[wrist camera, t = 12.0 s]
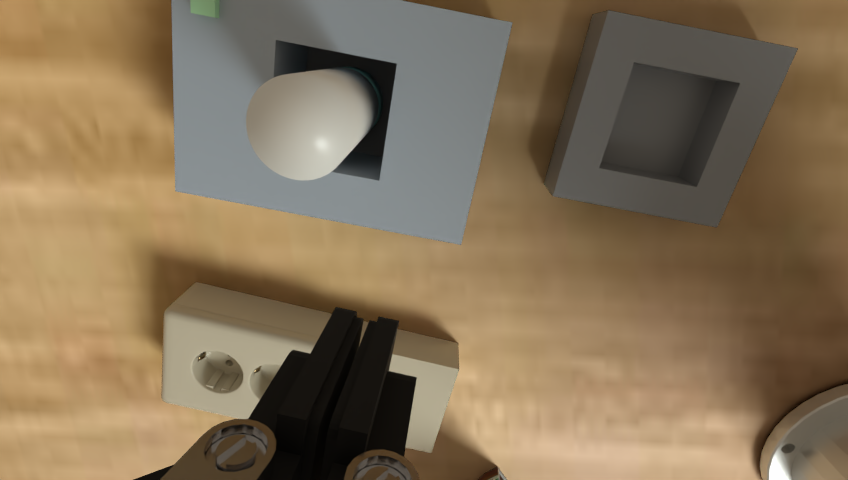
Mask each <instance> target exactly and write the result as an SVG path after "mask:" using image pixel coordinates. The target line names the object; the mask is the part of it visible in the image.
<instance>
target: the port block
mask: <svg viewBox="0 0 848 480" xmlns="http://www.w3.org/2000/svg"><path fill="white" fill-rule="evenodd" d="M171 6H172V52H173V98H174V145H175V191H177V192H182V193H187V194H193V195H198V196H203V197H209V198H214V199H219V200H225V201H230V202H235V203H241V204H246V205H251V206H257V207H262V208H267V209H273V210H278V211H283V212H289V213H294V214H299V215H305V216H310V217H315V218H321V219H326V220H331V221H337V222H342V223H347V224H353V225H358V226H363V227H369V228H374V229H379V230H385V231H390V232H395V233H401V234H406V235H411V236H417V237H422V238H427V239H433V240H438V241H443V242H448V243H454V244H459V245H461V243H462V239H463V234H464V230H465V226H466V221H467V217H468V213H469V208H470V204H471V200H472V196H473V191H474V187H475V183H476V178H477V174H478V170H479V165H480V161H481V157H482V152H483V148H484V144H485V139H486V135H487V131H488V126H489V122H490V118H491V113H492V109H493V105H494V100H495V96H496V92H497V88H498V83H499V79H500V75H501V70H502V66H503V62H504V57H505V53H506V49H507V44H508V40H509V36H510V31H511V27H512V22H507V21H502V20H497V19H492V18H487V17H482V16H477V15H472V14H467V13H462V12H457V11H452V10H447V9H442V8H437V7H432V6H427V5H422V4H417V3H412V2H407V1H402V0H171ZM345 66H351V67H357V68H360V69H362V70H364V71H366V72H367V73H369V74H370V75H371V76H372V77H373V78H374V79H375V80H376V82H377V83H378V85H379V87H380V89H381V92H382V96H383V110H382V113H381V116H380V118H379V120H378V122H377V123H376V124H375V126H374V127H373V128H372V129H371V130H370V131H369V132H368V133H367V134H366V135H365V137H364V138H363V139H362V140H361V141H360V142H359V143H358V144H357V145H356V147H355V148H354V149H353V150H352V151H351V152H350V153H349V154H348V155H347V156H346V158H345V159H344V160H343V161H342V162H341V163H340V164H339V165H338V166H337V168H335V169H334V170H333V171H332V172H330V173H329V174H327V175H325V176H323V177H321V178H318V179H314V180H303V181H301V180H294V179H289V178H286V177H284V176H281V175H279V174H277V173H275V172H274V171H272V170H271V169H270V168H268V167H267V166H266V165H265V164H264V163H263V162H262V161H261V160H260V159H259V157H258V156H257V155H256V153H255V151H254V150H253V148H252V146H251V144H250V141H249V138H248V135H247V129H246V114H247V109H248V106H249V103H250V100H251V98H252V97H253V95H254V93H255V92H256V91H257V90H258V88H259V87H260V86H262V85H263V84H264V83H265V82H267V81H268V80H270V79H272V78H274V77H277V76H280V75H285V74H291V73H299V72H307V71H314V70H322V69H329V68H337V67H345Z"/></svg>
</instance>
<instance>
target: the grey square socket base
mask: <svg viewBox="0 0 848 480" xmlns="http://www.w3.org/2000/svg"><path fill="white" fill-rule="evenodd" d="M797 50H798V48H793V47H788V46H783V45H778V44H773V43H768V42H763V41H759V40H754V39H749V38H744V37H739V36H734V35H729V34H724V33H719V32H714V31H709V30H704V29H699V28H694V27H689V26H684V25H679V24H674V23H669V22H664V21H659V20H654V19H649V18H644V17H639V16H635V15H630V14H625V13H620V12H615V11H610V10H608V11H604V12H600V13H596V14H593V15H592V19H591V22H590V25H589V29H588V32H587V36H586V39H585V43H584V46H583V50H582V53H581V57H580V60H579V63H578V67H577V70H576V74H575V77H574V81H573V84H572V88H571V91H570V95H569V98H568V102H567V105H566V108H565V112H564V115H563V119H562V122H561V126H560V129H559V133H558V136H557V140H556V143H555V146H554V150H553V153H552V157H551V160H550V164H549V167H548V171H547V174H546V178H545V181H544V185H545V186H546V188H547V189H548V190H549V192H550V193H551V194H552V196H555V197H560V198H565V199H570V200H576V201H581V202H586V203H591V204H596V205H602V206H607V207H612V208H617V209H623V210H628V211H633V212H638V213H644V214H649V215H654V216H659V217H664V218H670V219H675V220H680V221H685V222H691V223H696V224H701V225H706V226H712V227H717V226H718V224H719V222H720V220H721V218H722V215H723V213H724V211H725V209H726V206H727V204H728V202H729V200H730V198H731V195H732V193H733V191H734V189H735V187H736V184H737V182H738V180H739V178H740V176H741V173H742V171H743V169H744V167H745V164H746V162H747V160H748V158H749V156H750V153H751V151H752V149H753V147H754V145H755V142H756V140H757V138H758V136H759V134H760V131H761V129H762V127H763V125H764V122H765V120H766V118H767V116H768V114H769V111H770V109H771V107H772V105H773V103H774V100H775V98H776V96H777V94H778V92H779V89H780V87H781V85H782V83H783V80H784V78H785V76H786V74H787V72H788V69H789V67H790V65H791V63H792V61H793V58H794V56H795V54H796V52H797Z"/></svg>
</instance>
